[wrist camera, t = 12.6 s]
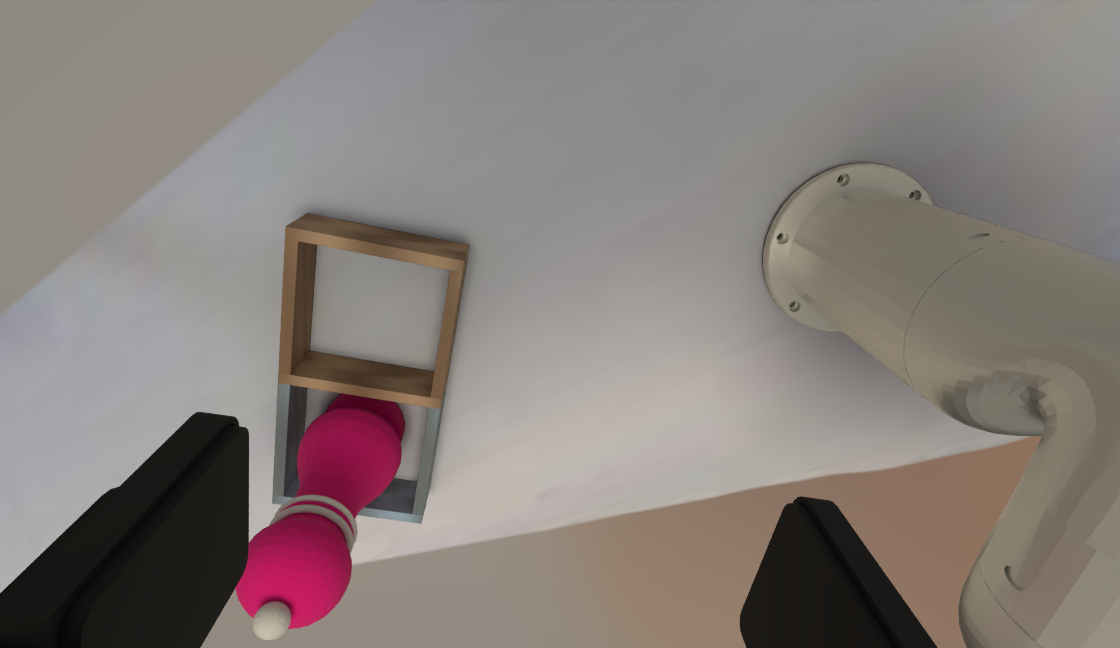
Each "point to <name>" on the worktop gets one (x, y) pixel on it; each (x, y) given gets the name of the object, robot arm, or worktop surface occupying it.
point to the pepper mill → (321, 515)
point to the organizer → (355, 374)
